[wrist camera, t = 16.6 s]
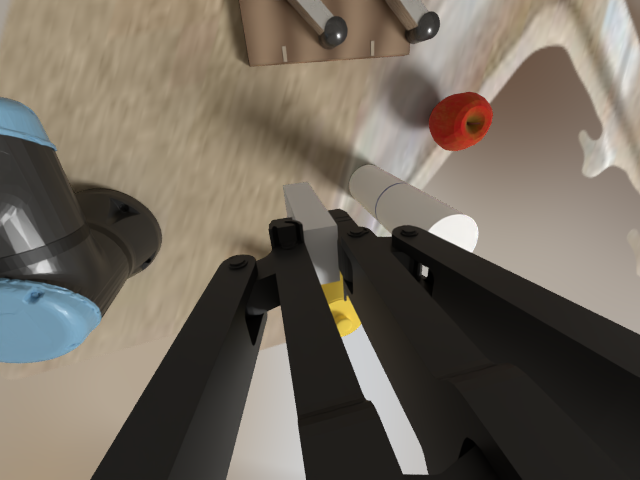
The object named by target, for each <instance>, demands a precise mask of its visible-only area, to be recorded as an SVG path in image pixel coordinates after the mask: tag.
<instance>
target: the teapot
mask: <svg viewBox="0 0 640 480" xmlns="http://www.w3.org/2000/svg"><path fill="white" fill-rule="evenodd" d="M321 286H322V289H323V292H324V294H325V297H326V299H327V302H328V305H329V307H330V310H331V312H332V315H333V318H334V320H335V323H336V325H337V328H338V331H339V333H340V336H341V337H343V336H346V335H348V334H350V333H352V332H353V331H355V330H356V329H357V328H358V327H359V326H360V325H361V322H360V320H359V318H358V316H357V314H356V312H355V309H354V307H353V305H352V303H351V301H350V299H349V297H348V296H347V301H344V292H343V276H342V274H341V272H340V281H337V282H332V283H327V284H322V285H321Z"/></svg>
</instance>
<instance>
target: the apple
mask: <svg viewBox="0 0 640 480" xmlns="http://www.w3.org/2000/svg"><path fill="white" fill-rule="evenodd" d="M492 116H493V113H492V108H491V106H490V104H489V103H488V101H487V100H486V99H485V98H484V97H482V96H480V95H479V94H477V93H473V92H466V93H460V94H454V95H451V96H449V97H446V98H445V99H443V100H442V101H441V102H439V103H438V104H437V105H436V106H435V108H434V109H433V111H432V113H431V115H430V118H429V129H430V132H431V135H432V137H433V139H434V141H435V142H436V143H437V144H438V145H439V146H441V147H442V148H443V149H445V150H449V151H458V150H462V149H466V148H468V147H470V146H472V145H475V144H476V143H477V142H479V141H480V140H481V139H482V138H483V137H484V136H485V135H486V133H487V131H488V129H489V127H490V125H491V123H492Z"/></svg>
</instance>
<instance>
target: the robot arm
mask: <svg viewBox="0 0 640 480" xmlns="http://www.w3.org/2000/svg"><path fill="white" fill-rule="evenodd" d="M55 151H57V149H56V147H55V145H54V144H53V143H51V142H50V140H49V138H48V136H47V134H46V132H45V130H44V128H43V126H42V124H41V122H40V120H39V118H38V117H37V115H36V114H35V113H34V112H33V111H32V110H31V109H30V108H28V107H27V106H25V105H24V104H22V103H20V102H17V101H15V100H12V99H8V98H4V97H0V362H5V363H32V362H40V361H45V360H50V359H54V358H57V357H60V356H62V355H64V354H67V353H69V352H70V351H72V350H74V349H75V348H76V347H78V346H79V345H80V344H81V343H82V342H83V341H84V340H85V339H86V337H87V336H88V335H89V334H90V332H91V331H92V330H93V329H95V328H96V326H97V325H99V323H100V321H101V319H102V317H103V316H104V314H105V313H106V311H107V309H108V308H109V306H110V305H111V303H112V302H113V300H114V299H115V297H116V295H117V294H118V292H119V291H120V289H121V288H122V286H123V284H124V283H125V281H126V280H127V279H128V278H130V277H132V276H134V275H136V274H137V273H139V272H141V271H143V270H144V269H145V268H147V267H148V266H149V265H150V264H151V263H152V262H153V260H154V259H155V257H156V255H157V254H158V252H159V250H160V247H161V243H162V234H161V229H160V226H159V224H158V222H157V220H156V218H155V217H154V215H153V214H152V213H151V212H150V210H149V209H148V208H146V207H145V206H144V205H143V204H142V203H140V202H139V201H137V200H136V199H134V198H132V197H130V196H128V195H126V194H123V193H120V192H117V191H113V190H107V189H89V190H84V191H80V192H77V193H75V194H74V192H73V190H72V188H71V186H70V183H69V181H68V179H67V177H66V175H65V172H64V170H63V168H62V166H61V164H60V161H59V159H58V157H57V155H56V153H55ZM283 190H284V197H285V203H286V210H287V217H288V218H283V219H277V220H272V221H271V223H270V224H269V235H270V240H271V246H272V251H271V253H270V254H269V255H268V256H266V257H265V258H263V259H260V260H258V261H256V259H255V258H254V257H253V256H250V255H236V256H232V257H230V258H228V259H227V260H225V261H223V262H222V264H221V265H220V266H219V268H218V269H217V271H216V273H215V274H214V276H213V278H212V279H211V281H210V283H209V284H208V286H207V287H206V289H205V291H204V292H203V294H202V296H201V297H200V299H199V301H198V302H197V304H196V306H195V307H194V309H193V311H192V312H191V314H190V316H189V317H188V319H187V321H186V322H185V324H184V326H183V327H182V329H181V331H180V332H179V334H178V335H177V337H176V339H175V340H174V342H173V344H172V345H171V347H170V349H169V350H168V352H167V354H166V355H165V357H164V359H163V360H162V362H161V364H160V366H159V367H158V369H157V370H156V372H155V374H154V375H153V377H152V379H151V380H150V382H149V384H148V385H147V387H146V388H145V390H144V392H143V393H142V395H141V397H140V398H139V400H138V402H137V404H136V405H135V407H134V408H133V410H132V412H131V413H130V415H129V417H128V418H127V420H126V422H125V423H124V425H123V427H122V428H121V430H120V432H119V433H118V435H117V436H116V438H115V440H114V442H113V443H112V445H111V447H110V448H109V450H108V451H107V453H106V455H105V456H104V458H103V460H102V461H101V463H100V465H99V466H98V468H97V470H96V471H95V473H94V475H93V476H92V478H91V479H90V480H226V477H227V473H228V469H229V465H230V461H231V457H232V454H233V450H234V446H235V442H236V438H237V434H238V430H239V426H240V422H241V418H242V414H243V410H244V406H245V402H246V398H247V395H248V391H249V387H250V383H251V379H252V375H253V371H254V368H255V364H256V360H257V356H258V352H259V348H260V344H261V340H262V336H263V332H264V328H265V325H266V321H267V311H269V310H271V309H273V308H276V307H278V306H280V305H281V311H282V317H283V324H284V331H285V337H286V344H287V350H288V356H289V363H290V370H291V376H292V383H293V390H294V396H295V403H296V409H297V416H298V427H299V435H300V442H301V448H302V455H303V461H304V468H305V474H306V480H640V335H639V334H637V333H635V332H633V331H631V330H629V329H627V328H625V327H623V326H621V325H619V324H617V323H615V322H613V321H611V320H608V319H607V318H604V317H603V316H600V315H598V314H596V313H594V312H592V311H590V310H588V309H586V308H584V307H582V306H580V305H578V304H576V303H574V302H572V301H569V300H567V299H566V298H563V297H561V296H559V295H557V294H555V293H553V292H551V291H549V290H547V289H545V288H543V287H541V286H539V285H537V284H535V283H533V282H531V281H529V280H527V279H524V278H522V277H520V276H518V275H516V274H514V273H512V272H510V271H508V270H506V269H504V268H502V267H500V266H498V265H496V264H494V263H491V262H490V261H487V260H485V259H483V258H481V257H479V256H477V255H475V254H473V253H471V252H469V251H467V250H465V249H463V248H461V247H459V246H457V245H455V244H453V243H451V242H448V241H446V240H444V239H442V238H440V237H438V236H436V235H434V234H432V233H430V232H428V231H426V230H424V229H422V228H419V227H416V226H411V225H402V226H398V227H396V228H394V229H393V230H392V237H377V236H376V235H375V234H374V233H373V232H372V231H371V230H370V229H368V228H365V227H358V225H357V224H356V223H355V222H354V221H353V220H352V218H351V217H349V215H348V214H347V212H345V211H343V210H341V209H335V210H329V211H327V209H326V208H325V206H324V205H323V204H322V202H321V201H320V199H319V198H318V196H317V195H316V193H315V192H314V190H313V189H312V187H311V186H310V185H309V183H308V182H303V183H295V184H288V185H283ZM422 265H424V266H425V267H427V268H428V276H427V277H425V276H423V275H422V273H421V272H422ZM340 272H341V274H342V276H343V292H344V301H347V296H348V297H349V299H350V301H351V303H352V305H353V307H354V309H355V312H356V314H357V316H358V318H359V320H360V322H361V324H362V326H363V328H364V330H365V332H366V334H367V336H368V338H369V340H370V342H371V344H372V346H373V348H374V350H375V352H376V354H377V357H378V359H379V360H380V363H381V365H382V367H383V369H384V371H385V373H386V375H387V377H388V379H389V381H390V383H391V385H392V387H393V389H394V391H395V393H396V395H397V397H398V399H399V401H400V404H401V406H402V408H403V409H404V412H405V414H406V416H407V418H408V420H409V422H410V424H411V426H412V428H413V430H414V432H415V434H416V436H417V438H418V440H419V442H420V445H421V447H422V450H423V453H424V457H425V461H426V466H427V470H428V474H429V475H407V474H403V473H402V471H401V468H400V466H399V464H398V461H397V459H396V456H395V454H394V451H393V449H392V447H391V444H390V442H389V439H388V437H387V434H386V432H385V429H384V427H383V424H382V422H381V420H380V417H379V415H378V413H377V411H376V409H375V407H374V405H373V403H372V402H371V401H368V400H366V399H365V397H364V395H363V393H362V391H361V388H360V385H359V383H358V380H357V378H356V375H355V372H354V370H353V367H352V365H351V362H350V359H349V357H348V354H347V351H346V349H345V347H344V344H343V341H342V339H341V336H340V333H339V331H338V328H337V325H336V323H335V320H334V318H333V315H332V312H331V310H330V307H329V305H328V302H327V299H326V297H325V294H324V292H323V289H322V286H321V285H322V284H327V283H332V282H337V281H340Z"/></svg>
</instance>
